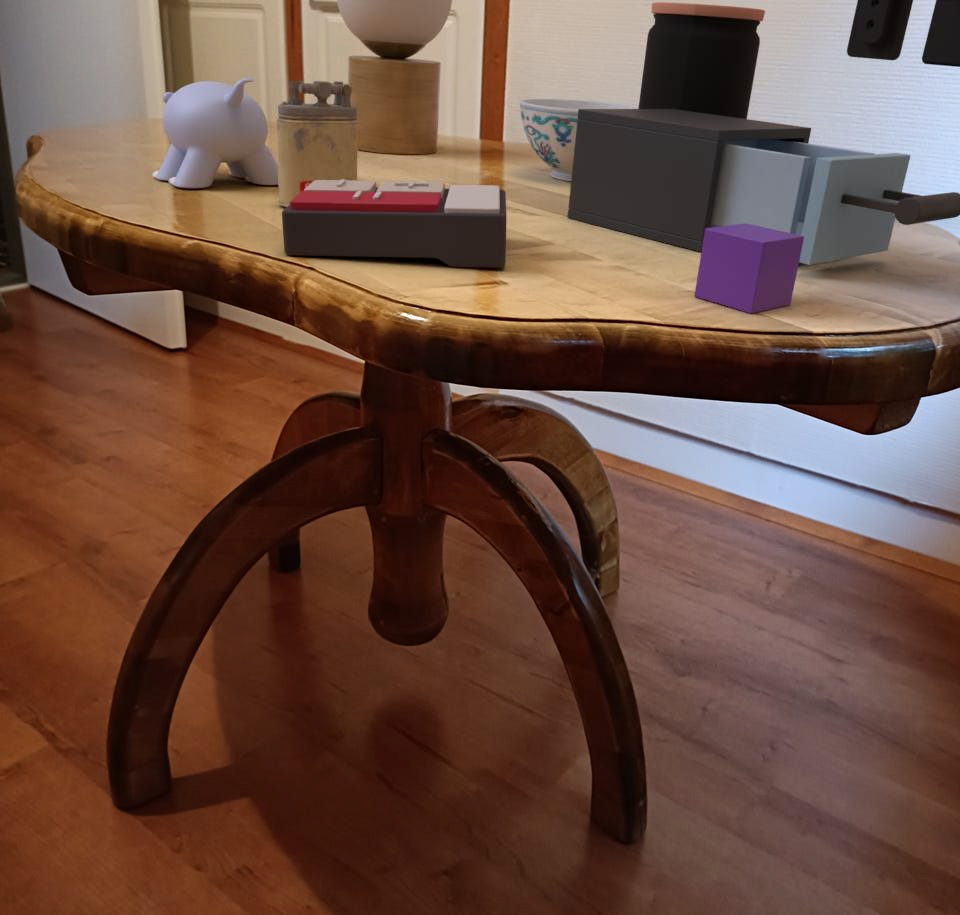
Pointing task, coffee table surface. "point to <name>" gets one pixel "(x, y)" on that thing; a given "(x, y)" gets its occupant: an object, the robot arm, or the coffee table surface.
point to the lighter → (315, 138)
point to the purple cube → (748, 267)
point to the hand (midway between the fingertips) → (910, 62)
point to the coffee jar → (701, 58)
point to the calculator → (399, 221)
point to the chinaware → (557, 129)
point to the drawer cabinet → (656, 169)
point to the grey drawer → (822, 196)
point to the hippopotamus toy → (215, 136)
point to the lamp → (395, 73)
